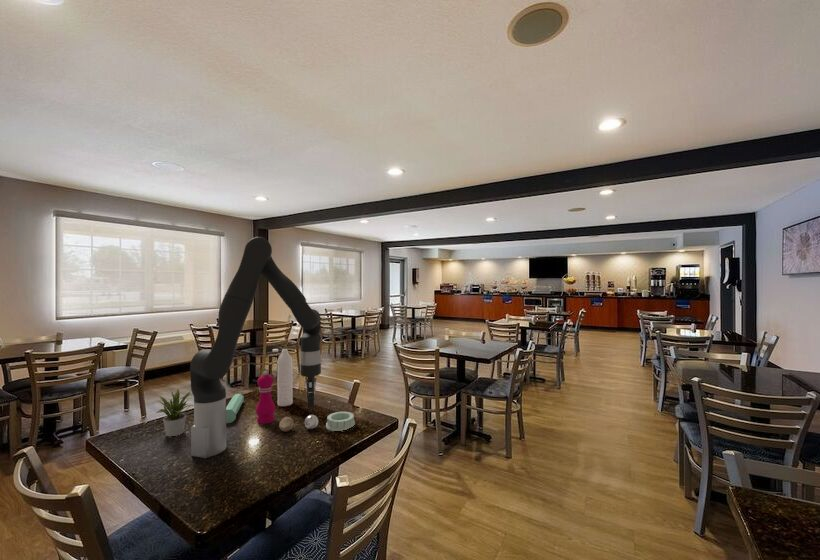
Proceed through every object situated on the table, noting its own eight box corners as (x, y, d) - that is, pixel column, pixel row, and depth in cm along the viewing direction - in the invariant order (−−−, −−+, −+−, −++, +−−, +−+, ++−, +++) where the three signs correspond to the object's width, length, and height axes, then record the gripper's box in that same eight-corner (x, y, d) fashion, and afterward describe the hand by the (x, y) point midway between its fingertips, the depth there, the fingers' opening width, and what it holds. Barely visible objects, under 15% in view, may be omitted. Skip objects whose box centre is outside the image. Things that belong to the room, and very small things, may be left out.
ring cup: (346, 433, 129) (346, 423, 129) (320, 429, 132) (320, 420, 132) (359, 421, 140) (359, 413, 140) (335, 418, 143) (335, 409, 143)
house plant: (206, 433, 130) (206, 389, 130) (162, 447, 119) (161, 399, 119) (191, 423, 139) (191, 382, 139) (149, 435, 128) (149, 390, 128)
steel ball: (313, 432, 130) (313, 418, 130) (301, 430, 132) (301, 416, 132) (320, 426, 135) (320, 413, 135) (309, 425, 137) (309, 412, 137)
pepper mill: (270, 424, 137) (270, 373, 137) (252, 424, 137) (252, 373, 137) (278, 417, 144) (277, 368, 144) (260, 417, 145) (260, 368, 145)
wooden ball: (287, 434, 128) (287, 420, 128) (276, 432, 130) (276, 419, 130) (296, 429, 133) (296, 415, 133) (285, 427, 135) (285, 414, 135)
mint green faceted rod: (234, 389, 162) (223, 407, 139) (247, 393, 164) (238, 411, 140) (229, 402, 162) (217, 421, 138) (242, 405, 163) (232, 426, 139)
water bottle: (294, 401, 164) (293, 347, 164) (290, 406, 157) (290, 350, 157) (274, 402, 163) (274, 348, 163) (270, 407, 156) (270, 350, 156)
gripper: (320, 366, 128) (321, 410, 128) (320, 357, 142) (321, 397, 142) (299, 367, 126) (299, 412, 126) (301, 358, 140) (302, 398, 140)
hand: (311, 404), depth 134 cm, fingers open, 8 cm apart
